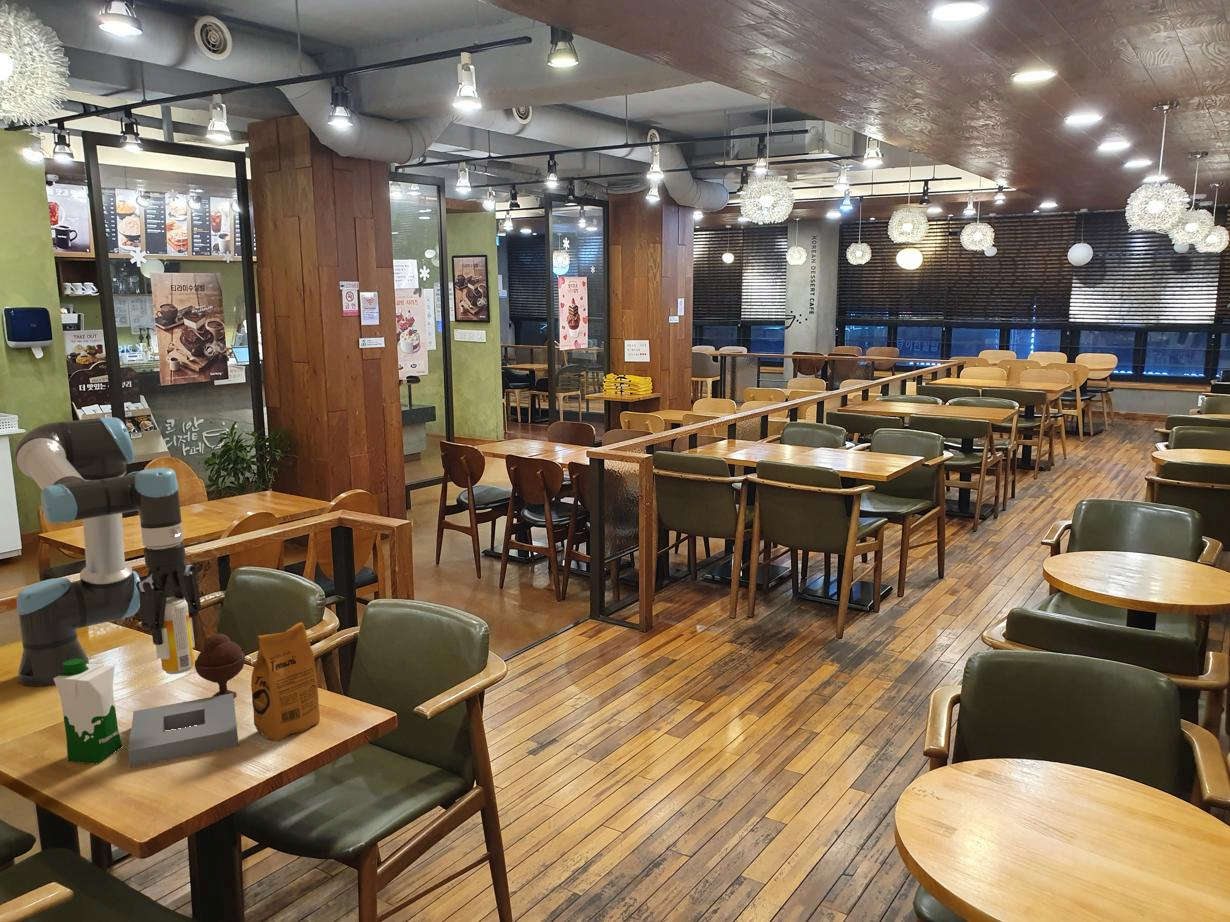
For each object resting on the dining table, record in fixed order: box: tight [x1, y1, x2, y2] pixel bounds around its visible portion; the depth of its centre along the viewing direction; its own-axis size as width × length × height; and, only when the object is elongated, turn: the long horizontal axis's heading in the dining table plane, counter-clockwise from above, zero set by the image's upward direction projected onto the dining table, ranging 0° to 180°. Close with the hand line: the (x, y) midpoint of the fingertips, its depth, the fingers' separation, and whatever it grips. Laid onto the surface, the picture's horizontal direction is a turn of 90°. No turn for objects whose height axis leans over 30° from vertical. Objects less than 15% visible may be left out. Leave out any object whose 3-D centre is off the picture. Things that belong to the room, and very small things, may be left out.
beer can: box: [160, 596, 195, 675], centre depth 192 cm, size 6×6×15 cm
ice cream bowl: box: [194, 633, 246, 699], centre depth 213 cm, size 11×11×15 cm
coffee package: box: [250, 622, 321, 742], centre depth 197 cm, size 10×12×22 cm
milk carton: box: [54, 658, 123, 765], centre depth 187 cm, size 9×9×20 cm
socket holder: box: [127, 693, 240, 768], centre depth 196 cm, size 20×20×4 cm
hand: (176, 652), depth 193 cm, fingers closed on beer can, 6 cm apart
